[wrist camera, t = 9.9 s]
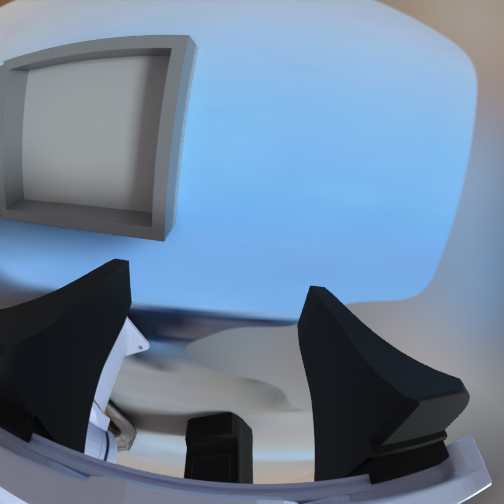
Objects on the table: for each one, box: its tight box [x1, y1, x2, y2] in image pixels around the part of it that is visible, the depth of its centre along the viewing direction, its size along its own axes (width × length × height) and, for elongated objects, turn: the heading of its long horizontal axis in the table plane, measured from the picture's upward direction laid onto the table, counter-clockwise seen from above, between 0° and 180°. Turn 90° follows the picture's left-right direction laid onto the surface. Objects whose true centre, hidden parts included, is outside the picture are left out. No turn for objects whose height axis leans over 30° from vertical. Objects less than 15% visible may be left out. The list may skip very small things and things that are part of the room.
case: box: [0, 35, 198, 241], centre depth 15 cm, size 14×12×3 cm
